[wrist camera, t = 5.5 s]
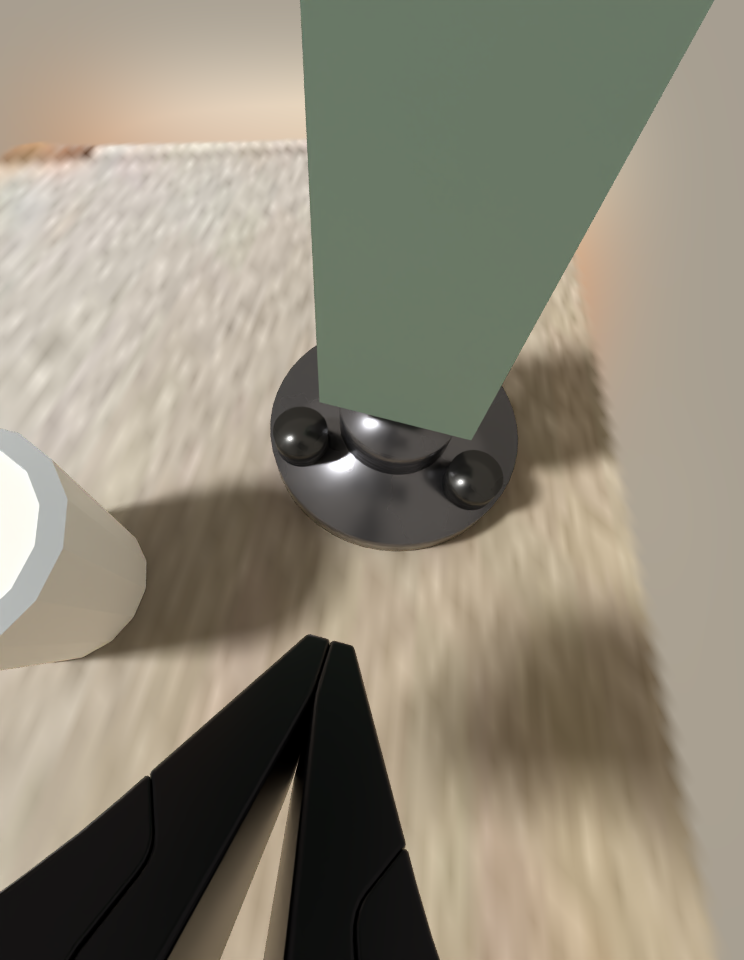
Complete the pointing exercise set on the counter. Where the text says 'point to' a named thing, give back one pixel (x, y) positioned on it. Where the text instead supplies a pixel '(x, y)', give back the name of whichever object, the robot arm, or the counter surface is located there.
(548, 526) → the counter surface
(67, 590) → the white cup
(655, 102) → the dome-topped green pillar
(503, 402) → the base
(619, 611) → the counter surface
